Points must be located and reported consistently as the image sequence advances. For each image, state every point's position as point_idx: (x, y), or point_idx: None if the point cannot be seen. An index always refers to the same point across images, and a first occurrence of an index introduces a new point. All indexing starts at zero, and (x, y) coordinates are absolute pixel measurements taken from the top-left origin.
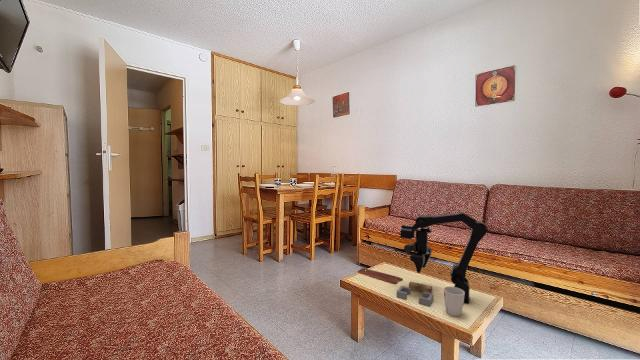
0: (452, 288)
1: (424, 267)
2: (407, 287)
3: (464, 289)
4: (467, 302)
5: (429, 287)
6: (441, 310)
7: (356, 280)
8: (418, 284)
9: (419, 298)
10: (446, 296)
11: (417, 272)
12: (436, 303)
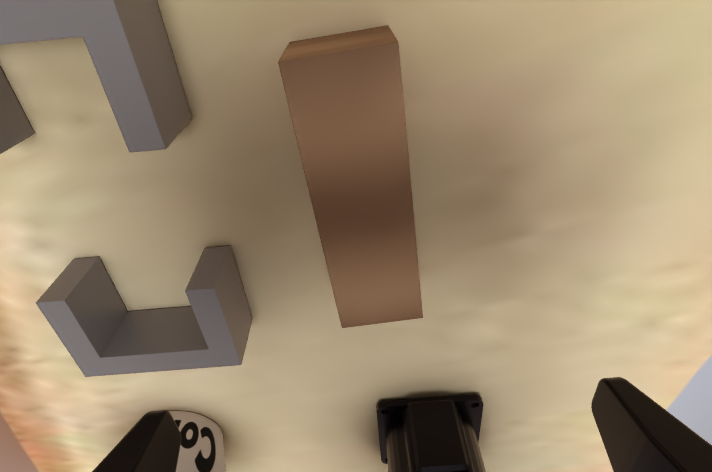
0: None
1: (595, 416)
2: (139, 100)
3: None
4: (383, 461)
5: (365, 306)
6: (146, 389)
7: None
8: (361, 189)
9: (46, 297)
10: None
11: (141, 421)
12: None
